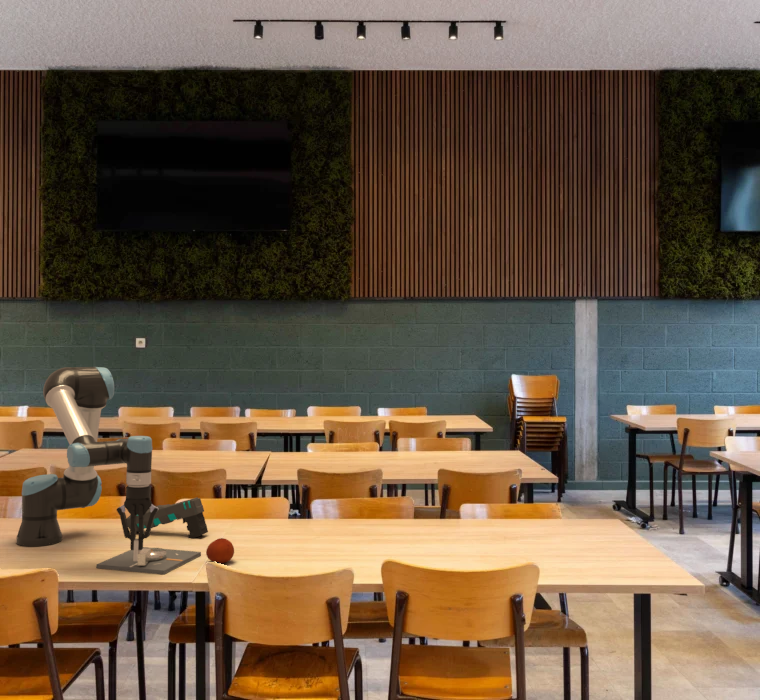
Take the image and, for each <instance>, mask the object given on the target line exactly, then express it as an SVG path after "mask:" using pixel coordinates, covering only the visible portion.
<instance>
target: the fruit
mask: <svg viewBox="0 0 760 700" xmlns="http://www.w3.org/2000/svg"><path fill="white" fill-rule="evenodd" d="M205 552H206V554H205V555H206V557H207V559H208V560H210V561H211V562H212V561H216V562H219V563H218V564H226V563H228V562H229V561H231V560H232V559H233V557H234V554H235V548H234V544H232V542H231V541H230V540H229V539H227V538H222V537H220V538H217V539H215V540H213V541H211V542H210V543H209V544H208V546H207V547H206V550H205Z"/></svg>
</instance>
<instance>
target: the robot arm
mask: <svg viewBox="0 0 760 700" xmlns="http://www.w3.org/2000/svg"><path fill="white" fill-rule="evenodd" d="M42 389H43V390H42V391H43V392H42V393H43V394H42V395H43V398H44V401H45V403H46V404H47V406H48V407H49V408H51V409H52V410H53V412H54V414H55V417H56V419H57V421H58V423H59V425H60V427H61V429H62V431H63V433H64V436H65V438H66V440H67V442H68V444H69V445H68V447H67V449H66V458H67V463H68V467H67V468H66V469H65V470H63V476H62V477H58V475H57V474H54V473H48V474H40V475H36V476H31V477H29V478H27V479H25V480H24V481H23V482H22V487H21V488H22V489H21V499H22V500H21V523H20V526H19V529H18V533H17V535H16V537H15V538H16V541H15V542H16V544H17V545H19V546H22V547H41V546H49V545H54V544H57V543H60V542H62V541H63V533H62V531H61V527H60V525H59V521H58V511H64V510H71V509H80V508H81V509H84V508H86V507H87V508H88V507H93V506H95V505H96V504H97V503H98V501H99V500H100V498H101V496H102V495H101V494H102V489H103V488H102V487H103V486H102V479H101V477H100V476H99V474H98V472H97V471H96V469H95V467H98V466H111V465H120V464H121V465H122V464H126V475H125V476H126V481H125V482H126V483H125V484H126V485H127V486H126V488H125V500H124V502H123V505H121V506H118V507H117V508H116V512H117V514H118V515H119V517H120V521H121V527H122V530H123V535H124V538H125V539H129V540H130V545H129V546H130V549H129V550H134V557H133V561H138V553H139V552H140V550H142V549H143V547H144V539H147V538H149V537H150V535H151V531H152V529H153V528H152V524H153V521H154V517H155V514H156V513H157V511H158V510H159V508H158V507H155V506H156V505H154V504H153V501H152V499H151V498H152V497H151V494H152V492H151V491H152V487H151V484H152V462H153V461H152V459H153V439H152V438H151V436H147V435H131V436H129V437H128V438H119V439H117V440H110V441H107V440H106V441H105V440H104V441H98V437H99V429H100V428H99V427H100V421H101V414H102V409H103V408H105V407H106V406H107V402H108V401H109V400H112V399H113V398H114V395H115V382H114V378H113V374H112V373H111V371H110V370H109V368H107V367H101V366H99V367H98V366H82V367H81V366H78V367H77V366H75V367H70V366H69V367H68V366H67V367H66V366H65V367H61V368H59V369H56V370H55V371H53V372H52V373H50V374H49V376H48V377H47V379H45V383H44V385H43V388H42ZM149 508H151V510H150V512H151V515H150V518H149V521H148V525H147V528H145V529H144V517H145V513H146V512H147V511H148V509H149ZM126 510H127V512H128V513H129V515H130V514H131V531H130V529H129V527H128V523H127V515H126ZM137 515H139V532H138V535H137V532H136V516H137ZM136 537H138V538H136Z"/></svg>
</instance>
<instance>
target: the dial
mask: <svg viewBox="0 0 760 700" xmlns="http://www.w3.org/2000/svg"><path fill="white" fill-rule="evenodd" d="M165 549H166V548H161V547H148V548H144V549H142V550H140V552H139V553H138V565H146V564H147V563H148V562H151V561H159V560H162V559H165V558H166V550H165Z"/></svg>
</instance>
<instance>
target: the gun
mask: <svg viewBox="0 0 760 700" xmlns="http://www.w3.org/2000/svg"><path fill="white" fill-rule="evenodd" d="M154 506H155V507H158V508H159V510H158V511H157V513H156V514H155V517H154V521H153V524H152V528H151V529H153V528H156V527H158V526H160V525H167V524H171V523H172V522H175V520H177V521H178V520H182V524H185V523H186V530H187V531H189V534H188V535H187V538H188V539H194V538H197V537H201V536H203V535H205V534H207V533H208V532H209V530H208V526H207V523H206V518H205V516H204V512H205V509H204V506H203V503H202V500H201V498H200V497H198V496H196V497H193V498H190V499H187V500H182V501H180V502H176V503H172V504H169V503H168V504H159V505H154ZM150 510H151V508H149V509H148V511H147V512H146V513H145V517H144V530H146V528H147V525H148V521H149V518H150V515H151V512H150ZM126 519H127V523H128V528H129V532H131V514H130V513H129V516H128V517H126ZM136 533H139V515H137V516H136Z"/></svg>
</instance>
